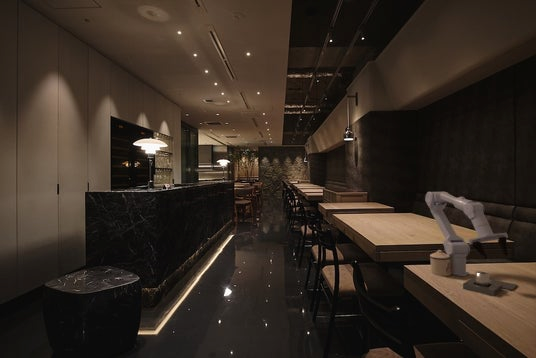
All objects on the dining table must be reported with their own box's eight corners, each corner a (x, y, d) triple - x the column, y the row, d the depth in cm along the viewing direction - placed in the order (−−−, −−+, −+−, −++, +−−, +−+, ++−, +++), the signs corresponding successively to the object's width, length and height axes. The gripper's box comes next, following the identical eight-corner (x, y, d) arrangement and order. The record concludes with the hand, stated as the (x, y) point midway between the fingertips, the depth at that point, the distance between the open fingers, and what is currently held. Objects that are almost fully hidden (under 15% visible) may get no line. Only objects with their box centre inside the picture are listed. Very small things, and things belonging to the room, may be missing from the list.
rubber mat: (486, 285, 133) (486, 283, 133) (492, 280, 138) (492, 279, 138) (512, 290, 126) (511, 289, 126) (517, 286, 131) (517, 284, 131)
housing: (463, 288, 129) (462, 283, 129) (472, 283, 136) (472, 278, 136) (494, 296, 120) (494, 290, 120) (502, 289, 127) (502, 284, 127)
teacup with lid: (451, 277, 143) (449, 253, 143) (429, 275, 149) (428, 251, 149) (452, 270, 153) (451, 247, 153) (432, 268, 158) (431, 246, 158)
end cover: (474, 289, 128) (474, 272, 128) (477, 286, 131) (477, 270, 131) (487, 292, 125) (486, 275, 125) (490, 289, 128) (490, 272, 128)
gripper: (465, 228, 134) (478, 258, 127) (502, 220, 129) (518, 251, 122) (463, 232, 139) (475, 261, 132) (499, 225, 135) (514, 255, 128)
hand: (496, 257), depth 128 cm, fingers open, 7 cm apart
